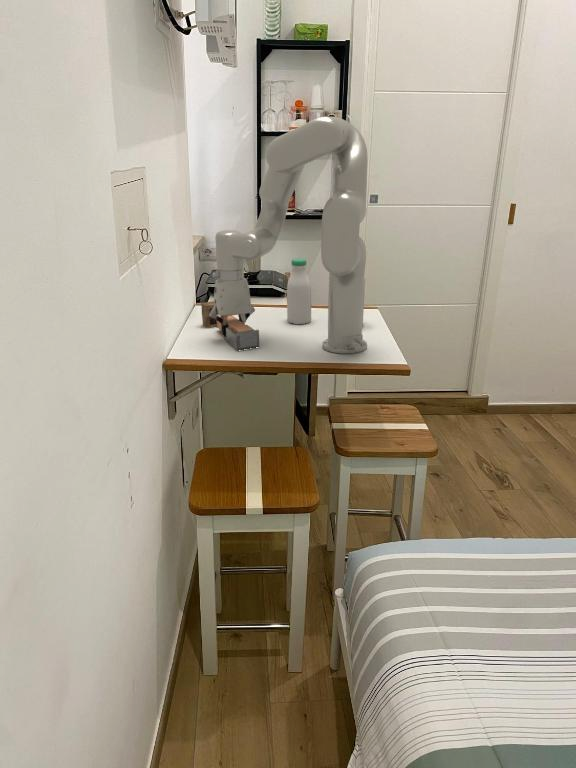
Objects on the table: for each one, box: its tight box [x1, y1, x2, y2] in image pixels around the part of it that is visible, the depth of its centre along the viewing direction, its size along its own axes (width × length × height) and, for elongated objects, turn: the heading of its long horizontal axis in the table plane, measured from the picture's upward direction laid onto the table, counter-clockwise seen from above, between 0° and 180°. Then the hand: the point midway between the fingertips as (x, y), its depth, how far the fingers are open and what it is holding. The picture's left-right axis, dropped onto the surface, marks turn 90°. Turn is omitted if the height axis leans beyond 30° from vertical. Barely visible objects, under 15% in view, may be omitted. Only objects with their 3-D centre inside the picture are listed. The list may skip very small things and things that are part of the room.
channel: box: [226, 324, 260, 352], centre depth 174 cm, size 9×7×5 cm
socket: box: [200, 300, 218, 329], centre depth 193 cm, size 4×8×7 cm, turn 115°
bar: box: [216, 314, 254, 333], centre depth 179 cm, size 20×4×4 cm, turn 25°
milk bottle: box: [286, 258, 312, 325], centre depth 193 cm, size 8×8×20 cm
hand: (233, 335), depth 181 cm, fingers closed on bar, 4 cm apart
